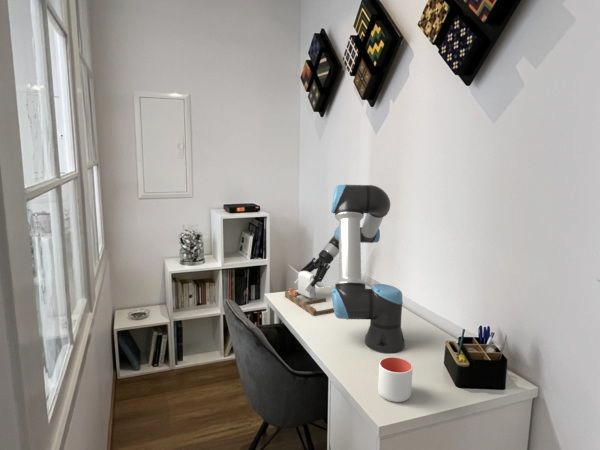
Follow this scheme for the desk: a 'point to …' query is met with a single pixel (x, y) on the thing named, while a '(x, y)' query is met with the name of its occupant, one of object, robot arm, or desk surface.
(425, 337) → the desk surface
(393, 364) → the cup
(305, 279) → the photo printer
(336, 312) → the robot arm
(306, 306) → the wooden stand frame
